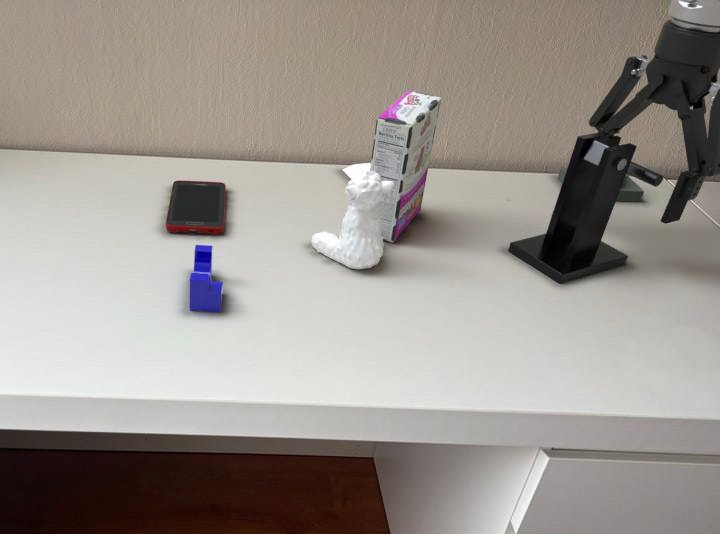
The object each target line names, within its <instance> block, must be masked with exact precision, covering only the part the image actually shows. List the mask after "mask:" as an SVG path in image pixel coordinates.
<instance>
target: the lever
mask: <svg viewBox="0 0 720 534" xmlns="http://www.w3.org/2000/svg"><path fill="white" fill-rule="evenodd" d="M608 147H609V146H607V145H604V144H602V143H600V142H598V141H594V142H593V144H592V145H591V147H590V149H589V150H588V152H587V154H586V155H585V157H584V160H586V161H589V162H591V163H593V164H595V165H597V166H598V165H599V163H600V160H601V157H602V154H603V151H604V148H608ZM626 174H629V176H631V177H633V178H636V179H637V180H640V181H641V182H643V183H645V184H648V185H650V186H652V187H654V188H655V187H659V186H660V185H661V184H662V182H663V181H664V175H662V174H661V173H658V172H656V171H654V170H652V169H650V168H647V167H645V166H643V165H641V164H638V163H636V162H634V161H633V160H631V163H630V166H629V168H628V171H627V173H626Z"/></svg>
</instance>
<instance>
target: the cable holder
mask: <svg viewBox="0 0 720 534" xmlns="http://www.w3.org/2000/svg"><path fill="white" fill-rule="evenodd" d="M213 247H214V246H213V245H207V244H206V245H205V244H195V246H194V257H193V258H194V260H193V272H190V277H189V311H193V312H195V311H196V312H210V313H212V312H213V313H221V312H222V304H223V291H224V290H223V289H224V288H223V287H224V282H223V281H212V276H213Z"/></svg>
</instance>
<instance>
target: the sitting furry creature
mask: <svg viewBox="0 0 720 534" xmlns="http://www.w3.org/2000/svg"><path fill="white" fill-rule="evenodd" d="M393 185H394V183H393V181H381V176H380V175H379V174H378V173H376V172H375V171H372V170H371V171H368V170H367V171H362V172H358V173H357V174H356V176H355V177H354V178H353V179H352V180H351V179H350V180H349V181H348V182H347V185H346V186H345V191H344V196H345V197H346V198H347V199H348V201H349V202H350V204H349V205H347V211H346V212H344V217H343V218H342V221H341V231H340V234H339V237H337V236H336V235H335V233H332V232H328V231H326V230H324V231H321V232H320V231H319V232H317V233H314V234H313V235H312V238H311V245H312V247H313V248H314V249H315V251H316V253H318V254H319V253H320V254H322V255H324V256H326V257H327V258H329V259H331V260H333V261H335V262H337V263H339V264H340V263H341V264H342V265H343V266H345V267H346V268H348V269H352V270H353V269H354V270H367V269H371V268H372V267H374V266H376V265H378V264H379V263H380V261H381V260H380V259H381V257H383V256H384V247H385V243H384V240H383V237H382V236H381V233H382V232H381V230H380V229H381V219H380V213H379V212H378V209H377V207H376V205H378V203H379V202H380V201H381V200H382V196H383V193H387V192H390V191H391V190H392V188H393Z"/></svg>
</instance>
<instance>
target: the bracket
mask: <svg viewBox="0 0 720 534" xmlns="http://www.w3.org/2000/svg"><path fill="white" fill-rule="evenodd" d="M608 137H609V134H607V133H605V132H599V133H598V132H594V133H588V134H583V135H578V136H577V138H576V141H575V143H574V147H573V150H572V153H571V156H570V159H569V161H568V165H567V167H566V168H567V171H566V174H565V177H564V180H563V183H562V182H561V183H562V184H561V187H560V189H559V192H558V196H557V199H556V202H555V205H554V208H553V211H552V214H551V218H550V220H549V223H548V226H547V229H546V233H543V234H539V235H536V236H530V237H527V238H523V239H519V240H514V241H511V242H510V243H509V246H508V249H507V250H508V252H509V253H511V254H512V255H514V256H515V257H517V258H518V259H520V260H522V261H523V262H525V263H526V264H528V265H529V266H531V267H533V268H534V269H536V270H538V271H539V272H540V273H542V274H544V275H545V276H547V277H548V278H550V279H552V280H553V281H555V282H556V283H558V284H563V283H566V282H569V281H573V280H577V279H581V278H583V277H586V276H590V275H593V274H597V273H600V272H604V271H607V270H610V269H614V268H617V267H621V266H625V265H626V263H627V260H628V258H629V255H628V254H625V253H624V252H622V251H620V250H618V249H616V248H615V247H613V246H611V245H609V244H608V243H606V242H604V241H602V239H603V237H604V234H605V232H606V229H607V226H608V224H609V221H610V218H611V216H612V213H613V210H614V207H615V205H616V203H617V201H616V200H617V197H618V195H619V192H620V189H621V187H622V184H623V181H624V179H625V176H626V173H627V171H628V168H629V166H630V163H631V161H633V157H634V155H635V152H636V150H637V145H635V144H633V143H631V142H629V143H628V142H627V143H623V144H619V145H618V146H613V147H608V148H604V151H603V154H602V157H601V160H600V163H599V165H598V166H597V165H595V164H593V163H591V162H589V161H586V160H584V157H585V155H586V154H587V152H588V150H589V149H590V147H591V145H592V144H593V142H594V141H598V142H600V143H602V144H604V145H606V143H607V140H608Z"/></svg>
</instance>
